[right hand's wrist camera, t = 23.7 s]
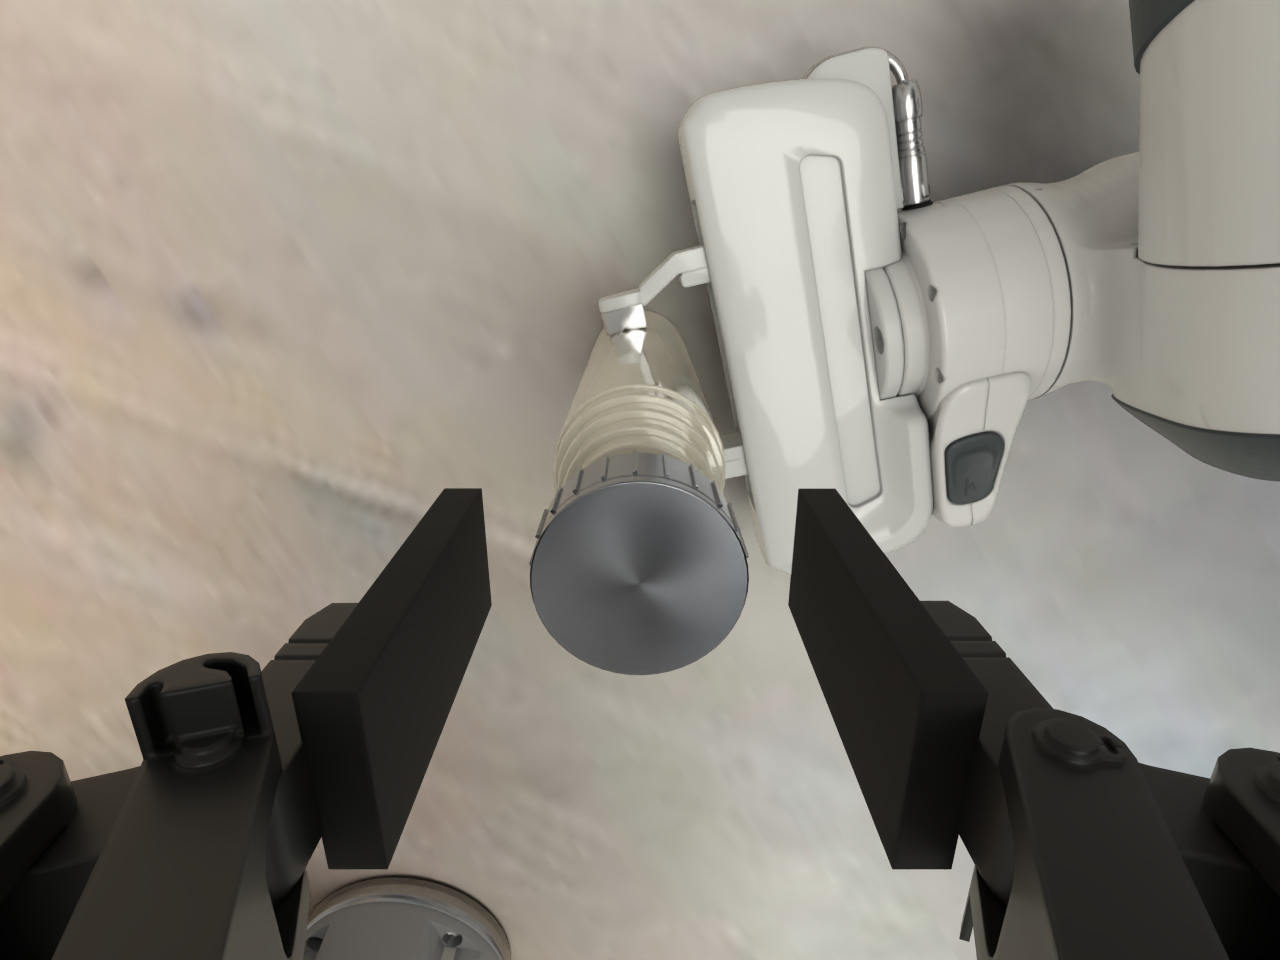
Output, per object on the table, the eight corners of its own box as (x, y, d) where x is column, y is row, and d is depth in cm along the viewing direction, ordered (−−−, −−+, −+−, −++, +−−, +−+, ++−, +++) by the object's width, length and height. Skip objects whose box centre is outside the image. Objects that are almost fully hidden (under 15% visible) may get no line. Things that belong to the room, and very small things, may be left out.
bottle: (702, 336, 35) (805, 517, 13) (659, 417, 37) (688, 699, 15) (619, 293, 34) (582, 407, 13) (578, 377, 36) (481, 611, 14)
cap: (740, 444, 14) (753, 473, 12) (738, 627, 15) (749, 674, 14) (530, 451, 14) (516, 482, 12) (548, 633, 15) (538, 681, 14)
